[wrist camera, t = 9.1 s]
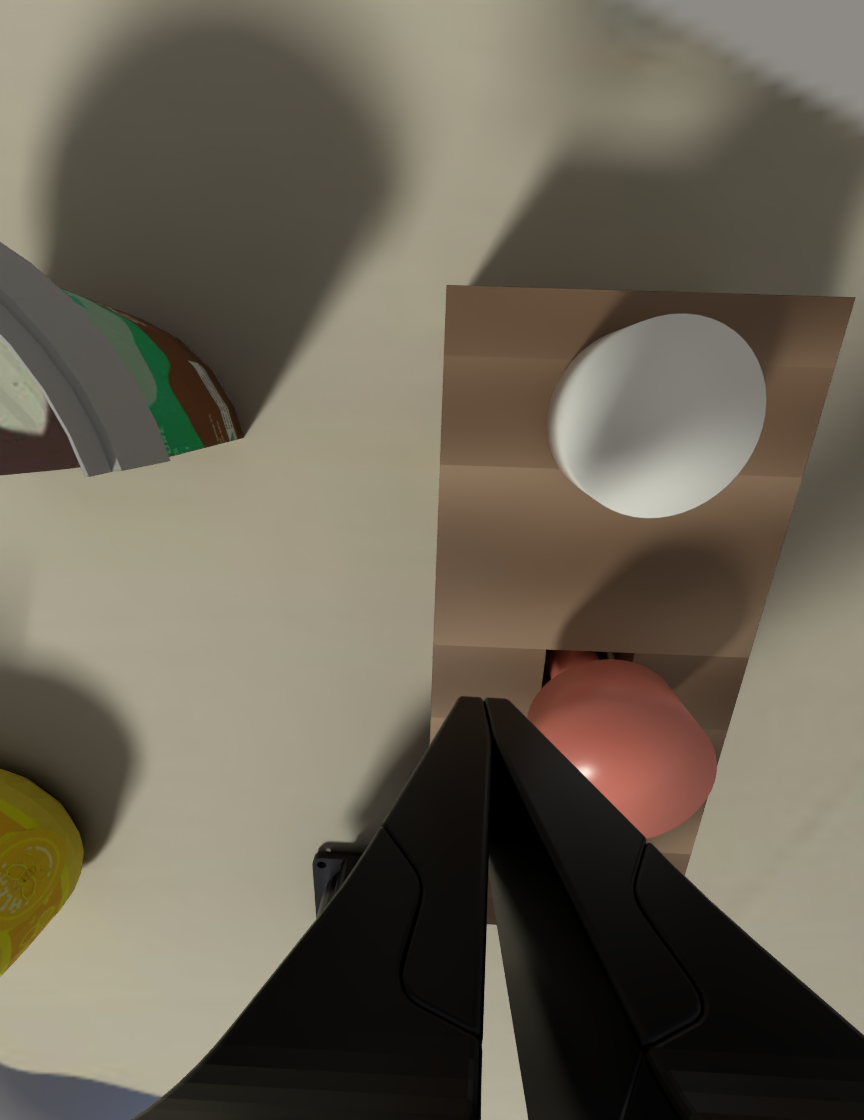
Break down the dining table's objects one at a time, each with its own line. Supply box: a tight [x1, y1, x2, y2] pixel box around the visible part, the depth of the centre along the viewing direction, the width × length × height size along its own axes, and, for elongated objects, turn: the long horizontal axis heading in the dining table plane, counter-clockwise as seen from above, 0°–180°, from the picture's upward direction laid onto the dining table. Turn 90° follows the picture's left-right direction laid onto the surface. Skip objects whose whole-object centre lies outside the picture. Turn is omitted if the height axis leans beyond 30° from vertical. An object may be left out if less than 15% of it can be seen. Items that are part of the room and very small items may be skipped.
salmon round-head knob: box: [527, 649, 717, 839], centre depth 15 cm, size 4×4×8 cm
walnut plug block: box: [430, 285, 855, 925], centre depth 18 cm, size 23×10×6 cm, turn 178°
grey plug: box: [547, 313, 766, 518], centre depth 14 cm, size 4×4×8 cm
